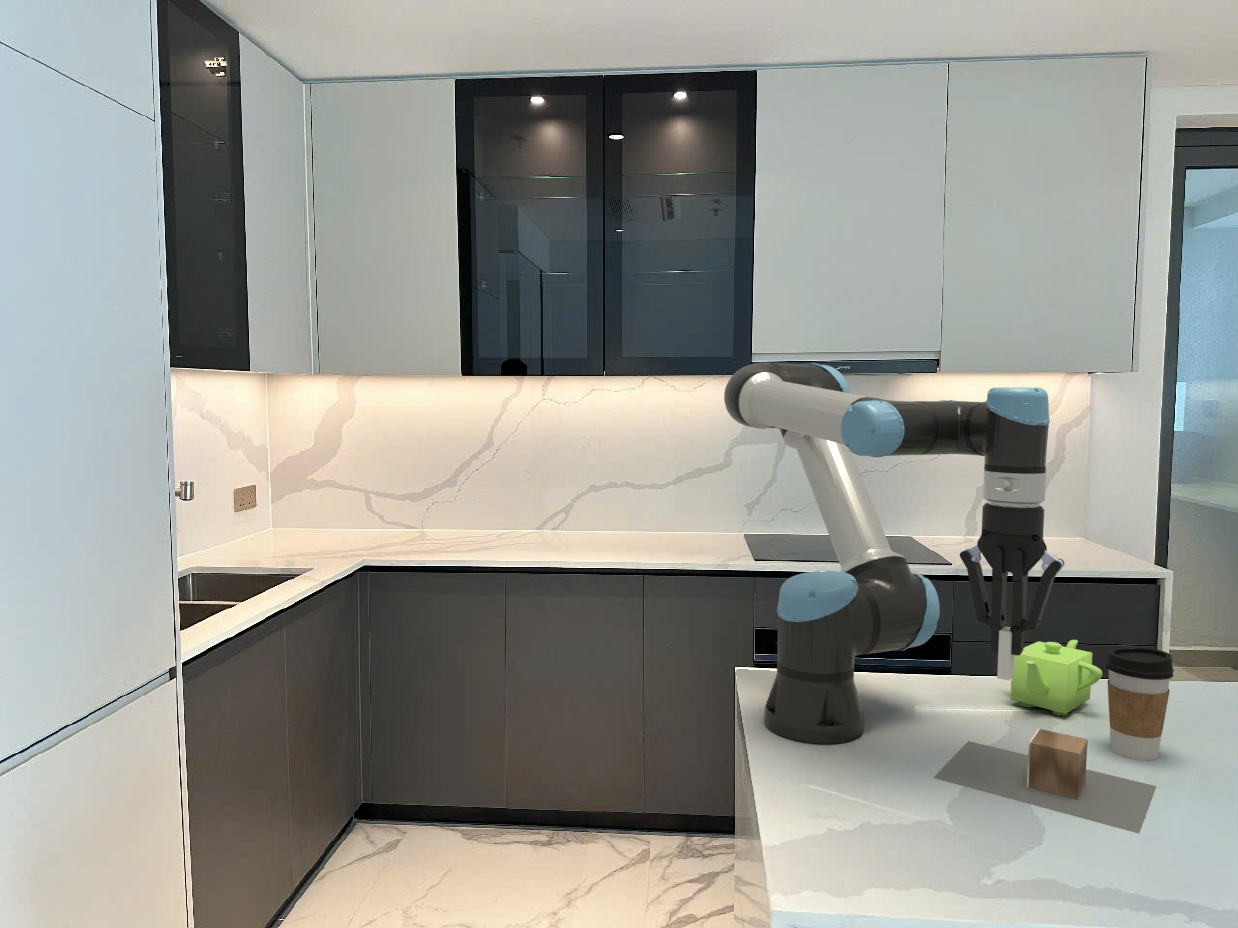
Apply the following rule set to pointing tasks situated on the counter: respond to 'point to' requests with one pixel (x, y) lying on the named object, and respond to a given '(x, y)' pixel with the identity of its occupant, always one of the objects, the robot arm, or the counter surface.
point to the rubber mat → (1008, 778)
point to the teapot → (1053, 676)
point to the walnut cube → (1057, 763)
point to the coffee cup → (1137, 700)
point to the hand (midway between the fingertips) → (1005, 676)
